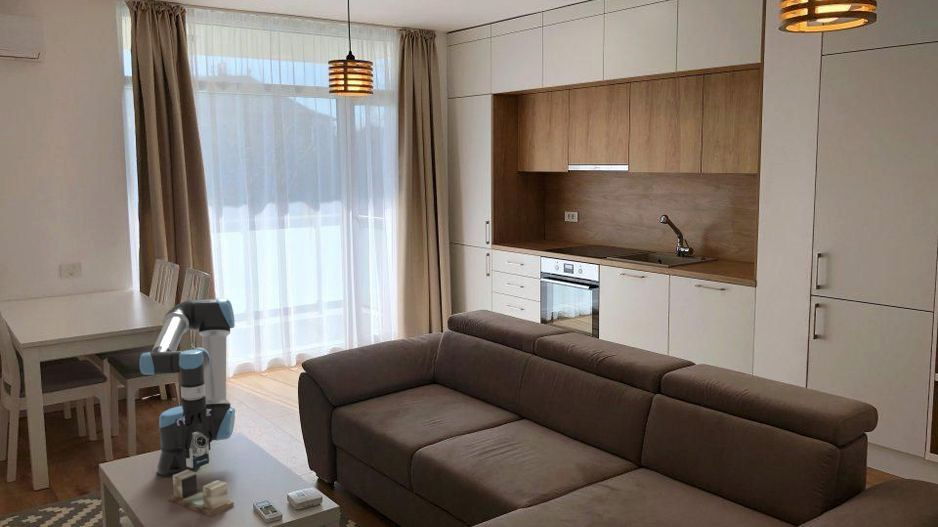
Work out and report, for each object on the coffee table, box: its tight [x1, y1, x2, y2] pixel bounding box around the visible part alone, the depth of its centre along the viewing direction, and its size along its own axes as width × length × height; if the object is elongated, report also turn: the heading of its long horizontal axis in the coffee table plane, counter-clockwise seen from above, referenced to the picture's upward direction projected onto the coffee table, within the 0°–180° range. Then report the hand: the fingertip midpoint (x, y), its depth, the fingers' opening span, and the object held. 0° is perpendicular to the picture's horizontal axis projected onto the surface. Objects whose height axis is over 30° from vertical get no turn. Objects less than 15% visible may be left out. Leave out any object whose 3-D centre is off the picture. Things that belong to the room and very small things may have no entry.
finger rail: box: [168, 470, 235, 517], centre depth 264 cm, size 23×9×8 cm, turn 55°
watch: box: [190, 432, 210, 468], centre depth 262 cm, size 6×8×11 cm
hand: (198, 463), depth 263 cm, fingers closed on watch, 6 cm apart
